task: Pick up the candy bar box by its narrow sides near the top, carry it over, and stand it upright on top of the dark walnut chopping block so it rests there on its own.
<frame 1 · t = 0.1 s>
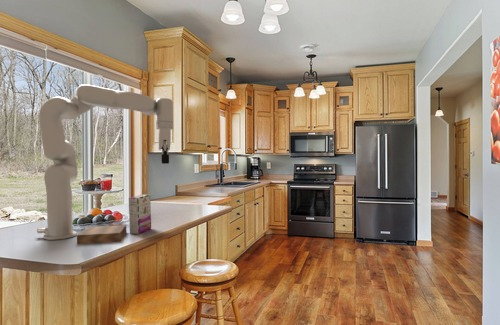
hand: (165, 163, 152), 31 cm above the countertop, tool pointing down, fingers open, 9 cm apart
candy bar box: (140, 231, 153), on the countertop
walnut block: (103, 239, 141), on the countertop
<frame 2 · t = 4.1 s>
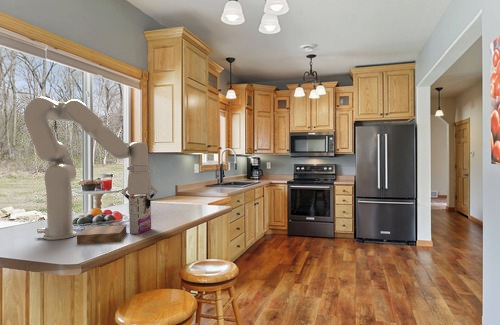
hand: (140, 208, 152), 11 cm above the countertop, tool pointing down, fingers closed on candy bar box, 6 cm apart
candy bar box: (140, 231, 153), on the countertop, touching gripper
everything else where it was.
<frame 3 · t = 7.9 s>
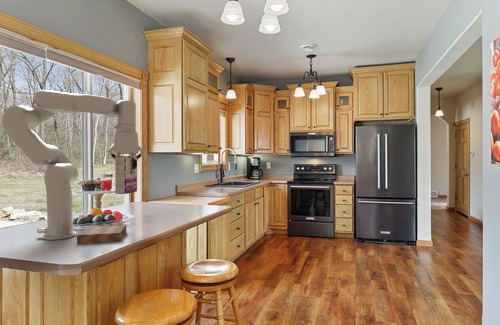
hand: (126, 168, 148), 29 cm above the countertop, tool pointing down, fingers closed on candy bar box, 6 cm apart
candy bar box: (126, 193, 148), point 18 cm above the countertop, touching gripper
everything else where it was.
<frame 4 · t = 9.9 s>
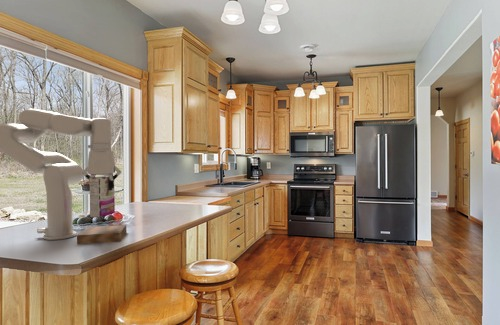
hand: (102, 189, 141), 20 cm above the countertop, tool pointing down, fingers closed on candy bar box, 6 cm apart
candy bar box: (102, 215, 141), point 9 cm above the countertop, touching gripper
everything else where it was.
when the fingers open (15 cm above the countertop, at t = 11.8 s): candy bar box drops 1 cm, resting on walnut block.
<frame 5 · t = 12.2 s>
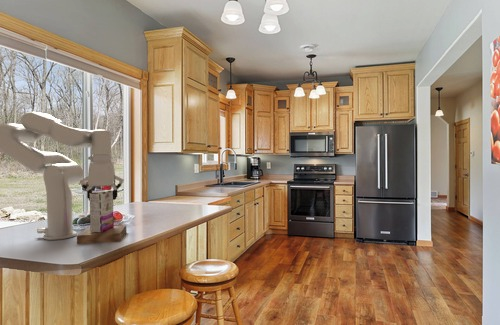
hand: (102, 199, 141), 16 cm above the countertop, tool pointing down, fingers open, 9 cm apart
candy bar box: (102, 230, 141), point 3 cm above the countertop, touching walnut block
walnut block: (103, 239, 141), on the countertop, touching candy bar box
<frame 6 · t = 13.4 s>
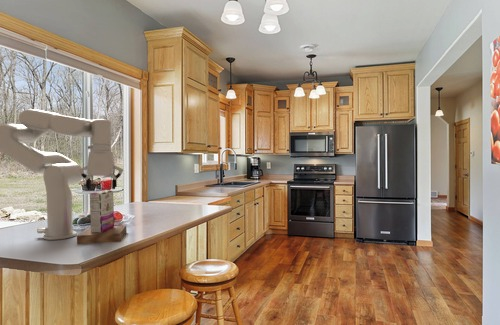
hand: (101, 189, 141), 21 cm above the countertop, tool pointing down, fingers open, 9 cm apart
nothing on the countertop moved.
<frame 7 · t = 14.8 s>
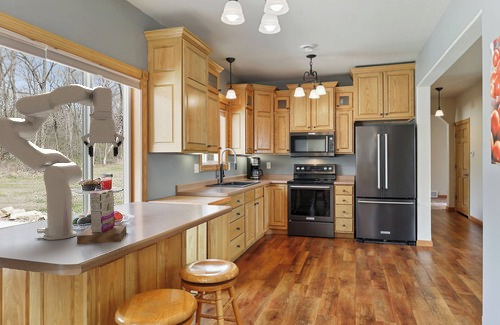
hand: (103, 156, 142), 34 cm above the countertop, tool pointing down, fingers open, 9 cm apart
nothing on the countertop moved.
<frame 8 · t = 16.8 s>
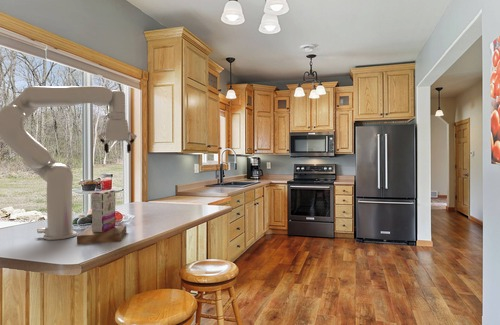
hand: (117, 152, 159), 36 cm above the countertop, tool pointing down, fingers open, 9 cm apart
nothing on the countertop moved.
at the end: candy bar box inside the target area on the walnut block (0.9 cm from its centre), point 3.9 cm above the walnut block's base; candy bar box tilted 1°; the gripper is holding nothing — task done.
